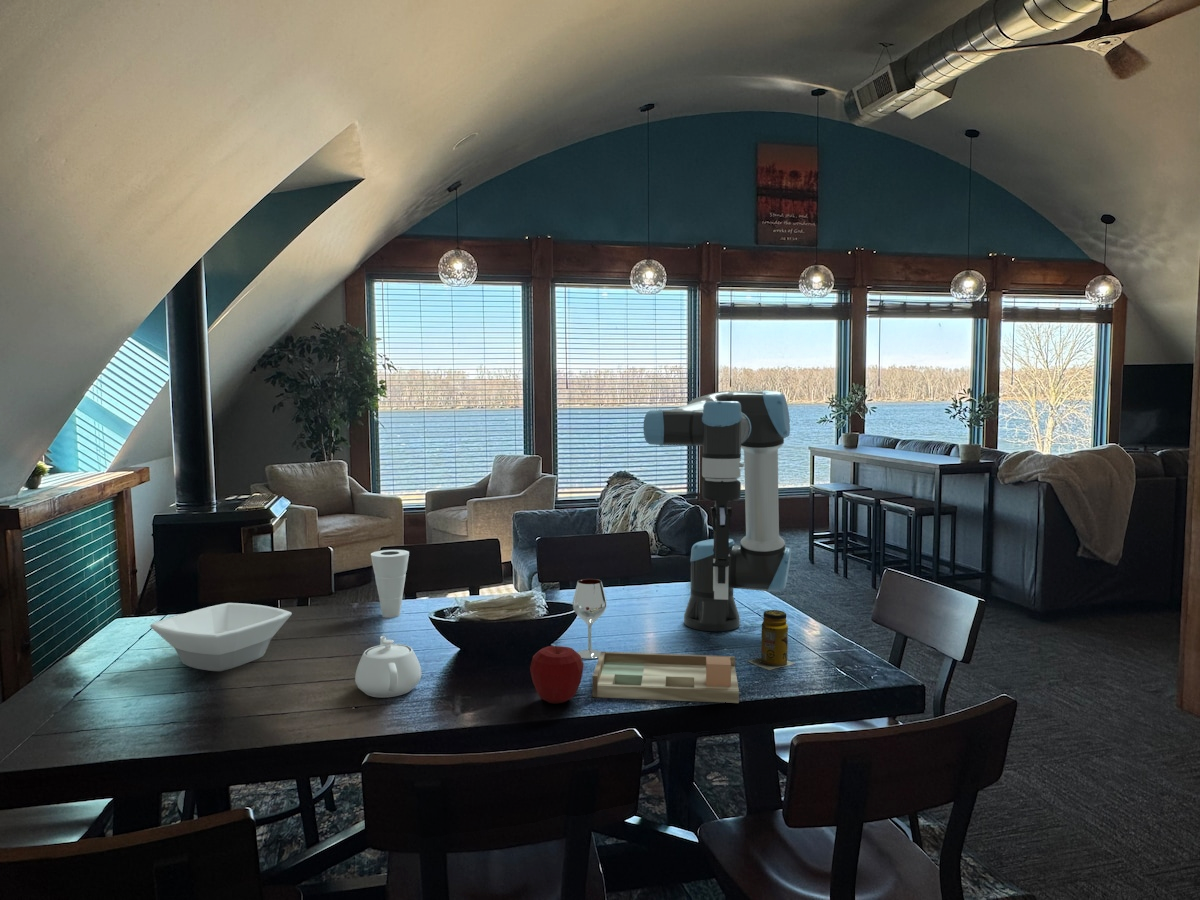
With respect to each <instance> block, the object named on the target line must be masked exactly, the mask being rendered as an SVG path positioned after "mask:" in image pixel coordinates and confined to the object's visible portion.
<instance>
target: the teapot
mask: <svg viewBox="0 0 1200 900" xmlns="http://www.w3.org/2000/svg"><path fill="white" fill-rule="evenodd" d="M379 639H380V640H379V644H378V645H375V646H372V647H369V648H367V649H366V650H364V652H362V655H361V657H360V660H359V663H358V665H357V667H356V671H355V675H354V677H355V678H354V680H355V682H354V683H355V685H356V686H357V688H358V689H359V690H360V691H361V692H363V693H364V694H365V695H367V696H369V697H372V698H384V699H385V698H394V697H398V696H402V695H405V694H407V693H409V692H411V691H412V690H413V689H414V688H415V687H416V686H417V685H418V683H420V681H421V679H422V667H421V664H420V661H419V659H418V657H417V655H416V653H415V651H414V649H413V647H411V646H409V645H406V644H402V643H395V641H394V640H393V639H387V638H386V636H385V635H381V636H380V637H379Z"/></svg>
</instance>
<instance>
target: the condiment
mask: <svg viewBox="0 0 1200 900" xmlns="http://www.w3.org/2000/svg"><path fill="white" fill-rule="evenodd" d="M762 619H763V621H762V623H761V637H760V638H761V639H760V640H761V643H760V644H761V647H760V648H761V651H760V653H761V655H760V657H757V658H754V659H748V660H747V662H749V663H751V664H752V665H755V666H756V667H759V668H762V669H765V670H767V671H771V670H775V669H779V668H784V667H788V666H792V665H795V664H796V662H794V661H789V660H788V644H789V643H788V641H789V639H788V638H789V637H788V633H789V631H788V630H789V628H788V627H789V625H788V623H787V613H786V612H784V611H783V610H778V609H767V610H764V612H763V618H762Z"/></svg>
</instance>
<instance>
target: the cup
mask: <svg viewBox="0 0 1200 900" xmlns="http://www.w3.org/2000/svg"><path fill="white" fill-rule="evenodd" d="M409 556H410V551H409V550H405V549H382V550H377V551H373V552H371V553H370V558H371V562H372V563H371V564H372V568H373V573H374V579H375V584H376V589H377V595H378V600H379V605H380V609H381V614H382V615H381V616H382V617H383V618H387V619H389V618H391V619H392V618H397V617H399V616H400V615H401V611H402V603H403V594H404V588H405V582H406V576H407V574H406V573H407V570H408V564H409Z"/></svg>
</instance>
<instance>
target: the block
mask: <svg viewBox="0 0 1200 900" xmlns="http://www.w3.org/2000/svg"><path fill="white" fill-rule="evenodd" d="M706 685H708V686H731V661H730V657H708V656H706Z"/></svg>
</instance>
